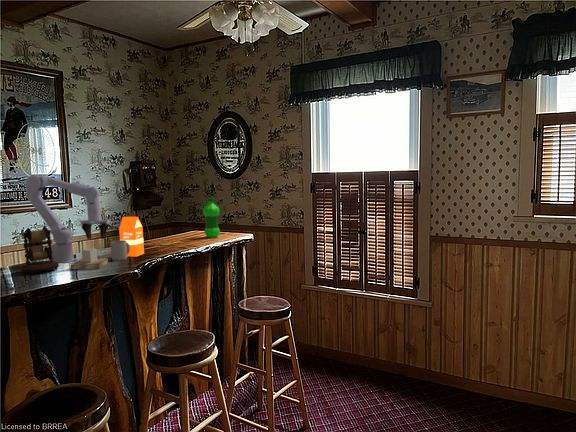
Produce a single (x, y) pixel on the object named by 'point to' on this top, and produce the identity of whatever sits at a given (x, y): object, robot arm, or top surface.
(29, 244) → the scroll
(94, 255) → the ceramic block
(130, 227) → the orange juice
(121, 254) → the cup
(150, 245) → the top surface
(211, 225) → the plastic bottle
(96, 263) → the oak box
